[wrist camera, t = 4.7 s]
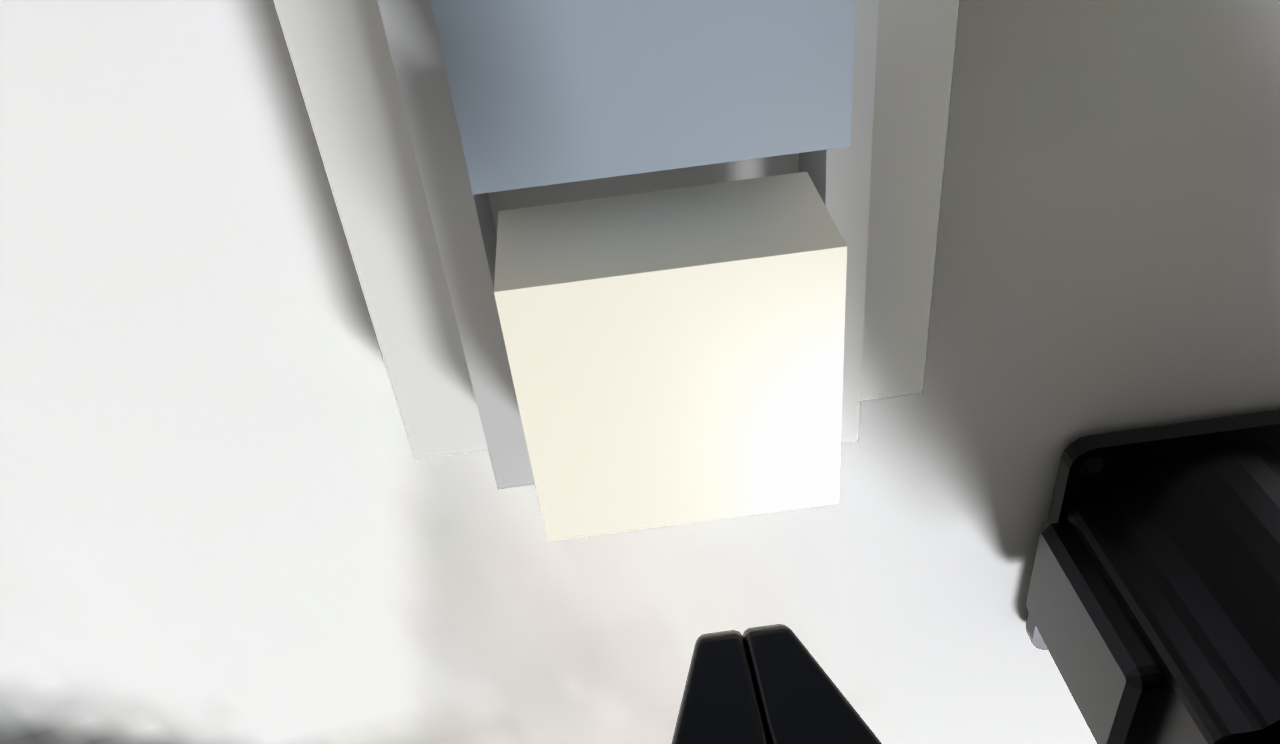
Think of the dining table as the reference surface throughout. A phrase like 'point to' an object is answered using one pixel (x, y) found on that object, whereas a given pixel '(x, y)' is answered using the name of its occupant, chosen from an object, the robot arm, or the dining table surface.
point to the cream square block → (676, 352)
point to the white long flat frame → (467, 224)
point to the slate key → (642, 84)
